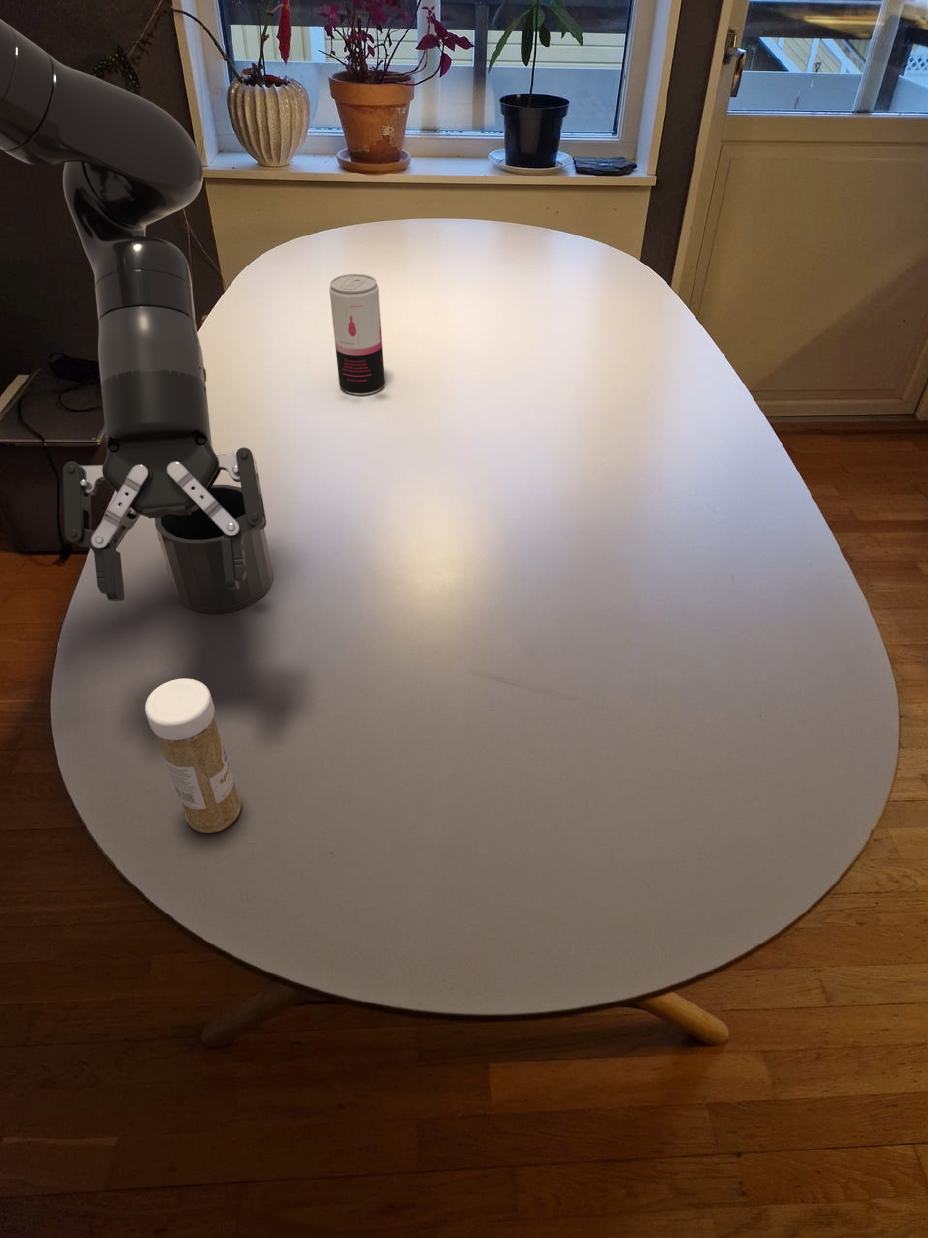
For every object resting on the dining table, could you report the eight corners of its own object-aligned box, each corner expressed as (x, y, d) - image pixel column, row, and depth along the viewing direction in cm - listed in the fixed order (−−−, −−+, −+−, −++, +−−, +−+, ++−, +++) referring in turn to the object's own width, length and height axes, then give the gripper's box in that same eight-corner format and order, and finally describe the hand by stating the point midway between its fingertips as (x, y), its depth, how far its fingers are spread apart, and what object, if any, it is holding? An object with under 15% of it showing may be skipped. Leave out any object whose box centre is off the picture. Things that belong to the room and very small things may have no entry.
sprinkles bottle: (251, 816, 70) (220, 704, 61) (198, 845, 68) (157, 733, 59) (227, 779, 72) (194, 666, 63) (175, 806, 70) (133, 693, 61)
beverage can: (392, 379, 127) (386, 276, 117) (372, 399, 122) (364, 294, 112) (352, 372, 128) (342, 270, 118) (331, 391, 124) (320, 287, 114)
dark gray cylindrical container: (178, 622, 87) (157, 551, 81) (172, 563, 94) (152, 493, 88) (279, 602, 89) (266, 532, 83) (265, 545, 97) (252, 477, 91)
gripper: (37, 373, 61) (58, 600, 60) (242, 358, 63) (266, 579, 62) (72, 405, 68) (92, 608, 67) (255, 391, 70) (276, 589, 69)
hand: (175, 594), depth 65 cm, fingers open, 8 cm apart
